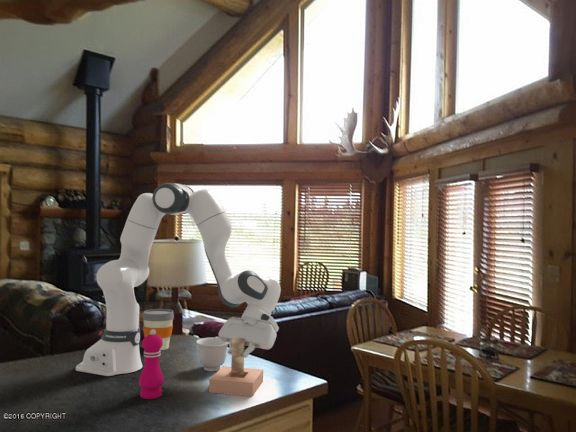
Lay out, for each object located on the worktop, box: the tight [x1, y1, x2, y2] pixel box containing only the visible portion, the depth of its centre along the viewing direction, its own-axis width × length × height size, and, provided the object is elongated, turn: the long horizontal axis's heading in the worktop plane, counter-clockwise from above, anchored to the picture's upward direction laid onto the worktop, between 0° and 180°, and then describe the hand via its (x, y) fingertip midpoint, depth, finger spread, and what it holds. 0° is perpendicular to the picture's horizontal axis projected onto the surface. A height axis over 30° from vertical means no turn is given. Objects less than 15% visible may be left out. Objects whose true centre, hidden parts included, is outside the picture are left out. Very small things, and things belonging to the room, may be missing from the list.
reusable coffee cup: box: [142, 308, 175, 351], centre depth 200 cm, size 13×13×15 cm
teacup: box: [195, 336, 229, 372], centre depth 175 cm, size 12×15×10 cm
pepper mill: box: [138, 329, 164, 400], centre depth 146 cm, size 7×7×20 cm
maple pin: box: [230, 337, 245, 375], centre depth 156 cm, size 4×4×11 cm
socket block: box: [208, 365, 264, 397], centre depth 156 cm, size 14×14×4 cm
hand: (236, 355), depth 155 cm, fingers closed on maple pin, 4 cm apart
